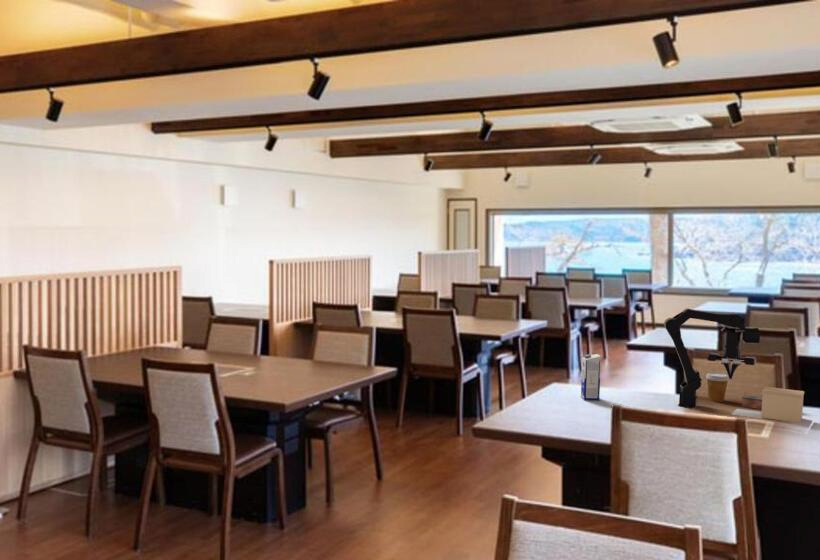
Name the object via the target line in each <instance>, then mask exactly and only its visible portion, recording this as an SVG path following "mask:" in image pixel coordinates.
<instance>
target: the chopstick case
mask: <svg viewBox="0 0 820 560" xmlns="http://www.w3.org/2000/svg"><path fill="white" fill-rule="evenodd" d="M741 399H742V403H741V407H742V408H743V407H744V408H750V409H758V410H762V396H756V395H748V394H747V395H746V394H744V395H743V396H742V397H741Z"/></svg>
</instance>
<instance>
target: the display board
mask: <svg viewBox="0 0 820 560" xmlns="http://www.w3.org/2000/svg"><path fill="white" fill-rule="evenodd" d="M731 415H733V416H734V415H735V416H741V417H749V418H753V419H754V418H755V419H762V420H763V419H764V418H762V417H761V411H757V410H752V409H751V410H750V409H742V408H736V409H734V411H733V412H732V413H731Z"/></svg>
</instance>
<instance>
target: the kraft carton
mask: <svg viewBox="0 0 820 560" xmlns="http://www.w3.org/2000/svg"><path fill="white" fill-rule="evenodd" d="M761 393H762V394H761V395H762V396H761V397H762V409H761V411H760V412H761V417H762V418H763V419H768V420H769V419H771V420H776V421H777V420H778V421H785V422H790V423H791V422H792V423H800V422H801V421H802V420H803V409H804V395H805V391H804V390H795V389H789V388H788V389H787V388H780V387H779V388H778V387H771V386H765V387H763V388H762V390H761Z"/></svg>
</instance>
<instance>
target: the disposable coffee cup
mask: <svg viewBox="0 0 820 560" xmlns="http://www.w3.org/2000/svg"><path fill="white" fill-rule="evenodd" d="M705 378H706V384H707V395H708V401H711V402H716V403H722V402H725V397H726V391H727V386H728V381H729V380H730V379H729V376H728V374H725V373H720V372H709V373H708V372H707V374H706V376H705Z"/></svg>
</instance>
